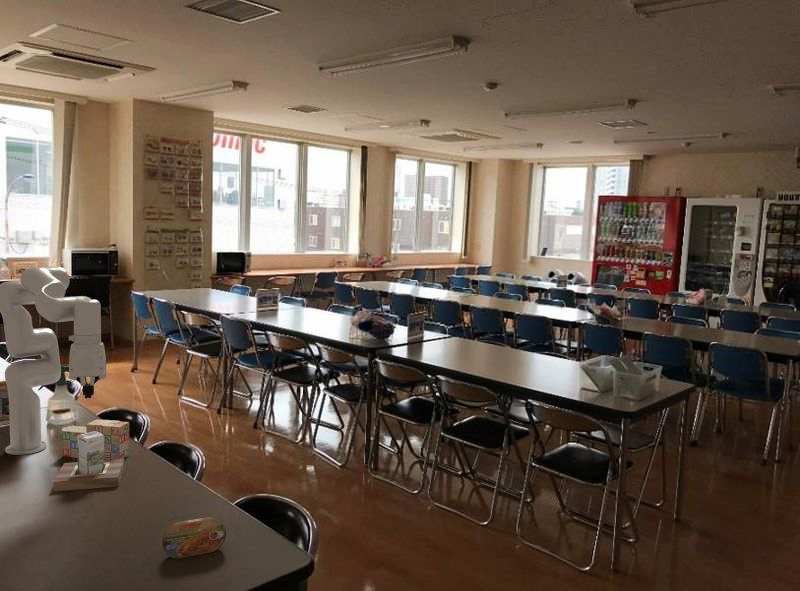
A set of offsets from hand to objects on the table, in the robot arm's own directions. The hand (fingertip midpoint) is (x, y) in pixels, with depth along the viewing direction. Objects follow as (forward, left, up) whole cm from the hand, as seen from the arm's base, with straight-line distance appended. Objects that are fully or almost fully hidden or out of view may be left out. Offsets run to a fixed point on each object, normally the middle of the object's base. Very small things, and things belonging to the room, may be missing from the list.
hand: (88, 397), depth 203 cm
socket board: (0, 0, -26) cm, 26 cm away
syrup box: (0, 0, -27) cm, 27 cm away
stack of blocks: (-22, -1, -27) cm, 34 cm away
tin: (+56, +32, -27) cm, 70 cm away
